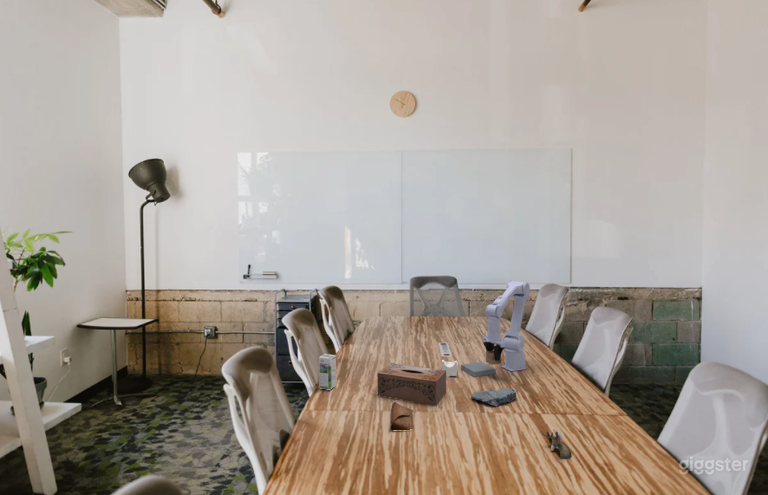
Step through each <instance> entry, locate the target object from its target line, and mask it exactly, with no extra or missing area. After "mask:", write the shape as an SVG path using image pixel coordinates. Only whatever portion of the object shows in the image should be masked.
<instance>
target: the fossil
mask: <svg viewBox="0 0 768 495" xmlns="http://www.w3.org/2000/svg"><path fill="white" fill-rule="evenodd" d="M470 396H471V397H470V398H472V399H473V400H476V401H480V402H484V403H486V404H489V405H491V406H493V407H494V408H495V407H496V408H497V407H498V406H499V405H501V404H502V405H503V404H506V403H510V402H512V401H513V400H515V399H516V398H517V391H516V390H515V389H510V388H506V387H502V388H499V389H493V388H490V389H489V390H478V391H475V392H473V393H472V394H471V395H470Z"/></svg>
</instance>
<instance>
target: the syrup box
mask: <svg viewBox="0 0 768 495" xmlns="http://www.w3.org/2000/svg"><path fill="white" fill-rule="evenodd" d="M318 374H319V376H318V378H319V381H318V383H319V384H318V386H319V387H318V388H323V389H332V388H333V387H335V386H336V387H337V356H336V354H327V353H323V354H322V355H320V356H319V357H318ZM336 387H335V388H336ZM333 389H334V388H333ZM333 389H332V390H333Z"/></svg>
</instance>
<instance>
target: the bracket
mask: <svg viewBox="0 0 768 495" xmlns="http://www.w3.org/2000/svg"><path fill="white" fill-rule="evenodd" d="M458 368H459V362H458V360H455V361H445V359H442V360H441V370H446V378H450V377H457V376H458V371H459V370H458Z"/></svg>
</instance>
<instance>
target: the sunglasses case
mask: <svg viewBox="0 0 768 495" xmlns="http://www.w3.org/2000/svg"><path fill="white" fill-rule="evenodd" d="M413 412H414V410H413V409H411V408H409V407H406V406H404V405H401V404H399V403H398V402H396V401H394V402H393V403H392V405H391V412H390V430H391V431H392V430H410V429H414V422H413ZM414 430H415V429H414Z"/></svg>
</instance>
